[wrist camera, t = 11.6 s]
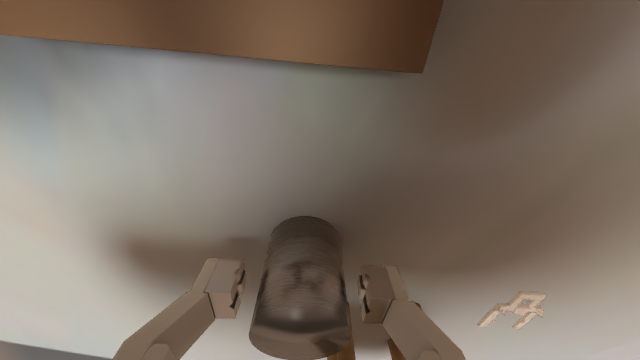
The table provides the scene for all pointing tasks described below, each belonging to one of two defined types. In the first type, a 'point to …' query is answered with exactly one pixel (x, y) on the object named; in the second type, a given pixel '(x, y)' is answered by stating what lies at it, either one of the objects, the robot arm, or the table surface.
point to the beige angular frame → (517, 309)
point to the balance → (243, 28)
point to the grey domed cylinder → (302, 293)
